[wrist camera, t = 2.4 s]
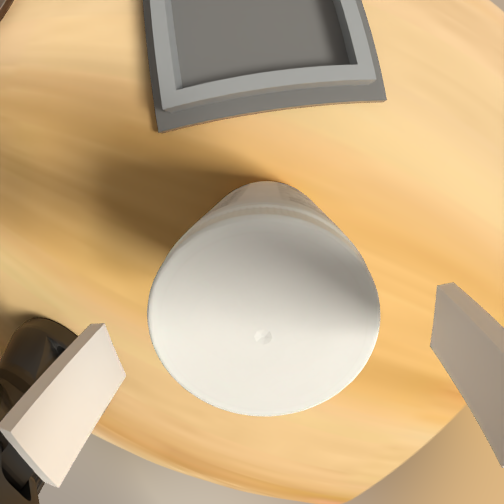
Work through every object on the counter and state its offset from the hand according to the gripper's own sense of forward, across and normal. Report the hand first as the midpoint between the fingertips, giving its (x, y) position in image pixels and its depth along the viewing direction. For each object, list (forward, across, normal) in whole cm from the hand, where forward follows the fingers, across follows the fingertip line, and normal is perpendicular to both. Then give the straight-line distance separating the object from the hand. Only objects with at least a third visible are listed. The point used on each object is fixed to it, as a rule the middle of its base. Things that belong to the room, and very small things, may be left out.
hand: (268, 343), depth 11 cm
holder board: (+15, +2, +19) cm, 24 cm away
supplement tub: (+15, 0, 0) cm, 15 cm away
